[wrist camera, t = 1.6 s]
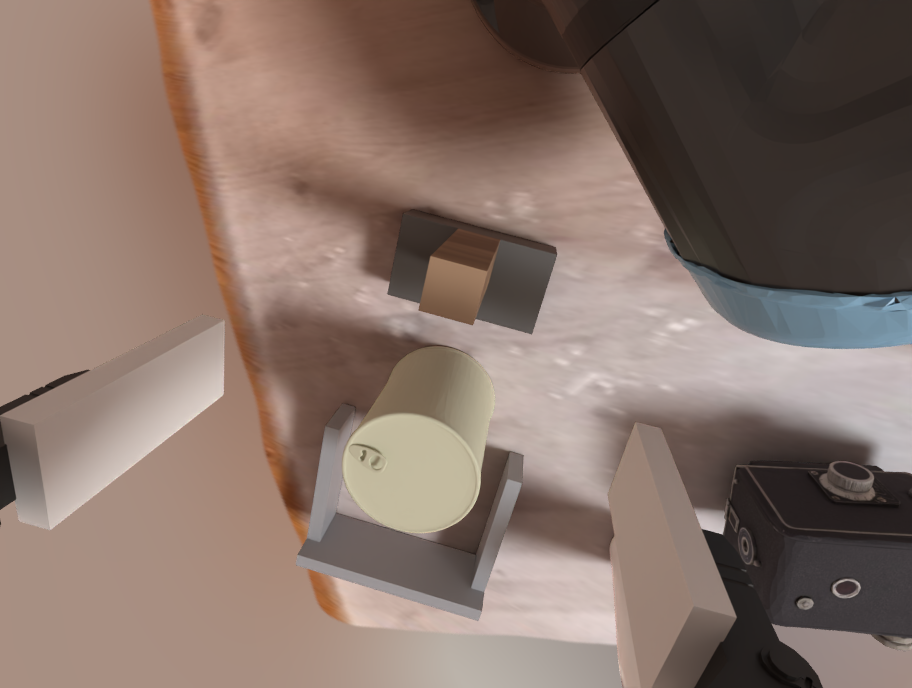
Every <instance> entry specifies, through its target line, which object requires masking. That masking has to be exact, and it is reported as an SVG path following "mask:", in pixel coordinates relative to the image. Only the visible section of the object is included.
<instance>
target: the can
mask: <svg viewBox="0 0 912 688" xmlns="http://www.w3.org/2000/svg"><path fill="white" fill-rule="evenodd" d="M494 406H495V394H494V388H493V385H492V382H491V380H490V378H489V376H488V374H487V373H486V371H485V370H484V368H483V367H482V366H481V365H480V364H479V363H478V362H477V361H476V360H475V359H473V358H472V357H471V356H469V355H467V354H465V353H463V352H462V351H459V350H456V349H453V348H449V347H443V346H431V347H424V348H420V349H418V350H415V351H413V352H411V353H409V354H408V355H406V356H405V357H403V358H402V359H401V360H400V361H399V362H398V363H397V365H396V366H395V367H394V369H393V370H392V372H391V374H390V377H389V380H388V382H387V384H386V385H385V387H384V388H383V390H382V392H381V393H380V395H379V396H378V398H377V399H376V401H375V402H374V404H373V406H372V407H371V409H370V410H369V412H368V413H367V415H366V416H365V418H364V419H363V421H362V422H361V424H360V425H359V427H358V428H357V429H356V430H355V431H354V432H353V433H352V435H351V436H350V438H349V439H348V441H347V443H346V445H345V448H344V451H343V456H342V474H343V479H344V482H345V485H346V487H347V490H348V492H349V494H350V495H351V497H352V498H353V500H354V501H355V502H356V504H357V505H358V506H359V507H360V508H361V509H362V510H363V511H364V512H365V513H366V514H368V515H369V516H370V517H371V518H373V519H374V520H376V521H378V522H379V523H381V524H383V525H385V526H387V527H390V528H393V529H396V530H399V531H404V532H409V533H430V532H436V531H440V530H443V529H446V528H448V527H450V526H452V525H454V524H456V523H457V522H459V521H460V520H462V519H463V518H464V517H465V516H466V515H467V514H468V513H469V511H470V510H471V509H472V507H473V506H474V504H475V502H476V500H477V497H478V494H479V490H480V483H481V469H482V463H483V457H484V450H485V444H486V438H487V432H488V427H489V422H490V419H491V417H492V414H493V411H494Z"/></svg>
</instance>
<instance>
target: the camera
mask: <svg viewBox="0 0 912 688" xmlns="http://www.w3.org/2000/svg"><path fill="white" fill-rule="evenodd" d="M724 518H725V519H726V521H725V527H724V532H723V536H724V537H725V538H726V539H727V540H728V542H729V543H730V544H731V545H732V546H733V547H734V548H735V549H736V550H737V552H738V553H739V555H740V557H741V559H742V562H743V564H744V566H745V568H746V570H747V571H746V574H749V577H750V579H751V581H752V583H753V585H754V586H753V589H756V592H757V594H758V596H759V598H760V600H761V602H762V604H763V607H764V609H765V611H766V613H767V615H768V617H769V619H770V622H771V623H772V624H775V625H780V626H785V627H801V628H814V629H824V630H837V631H848V632H856V633H865V634H871V635H872V636H873V637H874V638H875V639H876V640H878V641H879V642H881V643H882V644H883V645H885V646H887V647H890V648H893V649H897V650H901V651H909V650H910V649H911V648H912V474H910V473H907V472H884V471H883V470H882V469H881V468H879V467H877V466H865V465H857V464H855V463H851V462H847V461H836V462H832V463H831V464H821V463H799V462H782V461H750V462H749V464H748V465H736V467H735V471H734V476H733V482H732V488H731V494H730V499H729V498H727V501H726V506H725V516H724Z"/></svg>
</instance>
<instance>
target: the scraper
mask: <svg viewBox="0 0 912 688" xmlns="http://www.w3.org/2000/svg"><path fill="white" fill-rule="evenodd" d="M556 257H557V252H556V247H553V246H549V245H545V244H541V243H538V242H534V241H530V240H526V239H523V238H519V237H515V236H511V235H508V234H504V233H500V232H496V231H493V230H489V229H485V228H481V227H477V226H474V225H470V224H466V223H462V222H459V221H455V220H451V219H447V218H444V217H440V216H436V215H432V214H429V213H425V212H421V211H417V210H414V209H412V210H410V211H408V212H405V213H403V216H402V222H401V227H400V232H399V237H398V242H397V247H396V253H395V258H394V263H393V268H392V273H391V278H390V284H389V289H388V295H391V296H395V297H399V298H402V299H406V300H410V301H413V302H417V303H420V306H419V311H423V312H426V313H430V314H434V315H437V316H441V317H445V318H448V319H452V320H455V321H459V322H463V323H466V324H470V325H473V324H474V321H475V319H478V320H482V321H486V322H489V323H493V324H496V325H500V326H504V327H507V328H511V329H515V330H518V331H522V332H525V333H529V334H532V333H533V329H534V326H535V323H536V320H537V317H538V314H539V310H540V307H541V304H542V301H543V298H544V295H545V291H546V288H547V285H548V282H549V279H550V276H551V272H552V269H553V266H554V263H555V260H556Z"/></svg>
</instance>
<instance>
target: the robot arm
mask: <svg viewBox="0 0 912 688" xmlns="http://www.w3.org/2000/svg"><path fill="white" fill-rule="evenodd" d="M471 1H472V3H473V5H474V8H475V10H476V12H477V14H478V15H479V17H480V19H481V21H482V22H483V24H484V25H485V27H486V28H487V29H488V31H489V32H490V33H491V35H492V36H493V37H494V38H495V39H496V40H497V41H498V42H499V43H500V44H501V45H502V46H503V47H504V48H505V49H506V50H508V51H509V52H510V53H512V54H513V55H514V56H516V57H517V58H519V59H521V60H522V61H524V62H526V63H528V64H530V65H533V66H535V67H538V68H541V69H544V70H548V71H553V72H560V73H581V74H582V76H583V78H584V80H585V82H586V84H587V85H588V87H589V89H590V91H591V93H592V95H593V96H594V98H595V100H596V102H597V104H598V106H599V107H600V109H601V111H602V113H603V115H604V117H605V118H606V120H607V122H608V124H609V126H610V128H611V129H612V131H613V133H614V135H615V137H616V139H617V140H618V142H619V144H620V146H621V148H622V150H623V151H624V153H625V155H626V157H627V159H628V161H629V162H630V164H631V166H632V168H633V170H634V172H635V173H636V175H637V177H638V179H639V181H640V183H641V184H642V186H643V188H644V190H645V192H646V194H647V195H648V197H649V199H650V201H651V203H652V205H653V206H654V208H655V210H656V212H657V214H658V216H659V217H660V219H661V221H662V223H663V225H664V227H665V230H664V236H665V239H666V242H667V245H668V247H669V249H670V251H671V253H672V254H673V255H674V257H675V258H676V259H678V260H679V261H680V263H681V264H682V265H683V266H684V267H685V268H686V269H688V270H689V272H690V274H691V275H692V277H693V279H694V280H695V282H696V283H697V285H698V287H699V288H700V290H701V292H702V293H703V295H704V297H705V298H706V300H707V301H708V303H709V304H710V305H711V307H712V308H713V309H714V310H715V311H716V312H717V313H719V314H720V315H721V316H722V317H723V318H725V319H726V320H727V321H728V322H729V323H731V324H732V325H734V326H736V327H737V328H739V329H741V330H743V331H745V332H747V333H750V334H752V335H755V336H758V337H760V338H764V339H767V340H770V341H774V342H778V343H783V344H789V345H795V346H802V347H813V348H830V349H864V348H880V347H891V346H900V345H908V344H912V0H471ZM224 340H225V320H223V319H219V318H215V317H211V316H207V315H200V316H198V317H196V318H194V319H193V320H190V321H188V322H186V323H184V324H182V325H180V326H178V327H176V328H174V329H172V330H170V331H168V332H166V333H164V334H162V335H160V336H158V337H156V338H154V339H152V340H150V341H148V342H146V343H144V344H142V345H140V346H138V347H136V348H134V349H132V350H130V351H128V352H126V353H124V354H122V355H120V356H118V357H116V358H114V359H112V360H110V361H108V362H106V363H104V364H102V365H100V366H98V367H96V368H94V369H92V370H85V371H81V372H78V373H74V374H70V375H66V376H64V377H61V378H59V379H57V380H55V381H53V382H51V383H49V384H47V385H46V386H45V387H41V388H39V389H36V390H34V391H32V392H30V394H29V395H24V396H22V397H20V398H18V399H16V400H14V401H12V402H10V403H7V404H5V405H3V406H1V407H0V510H1V509H2V508H3V507H5V506H6V505H8V504H9V503H11V502H13V501H14V500H15V503H16V509H17V514H18V519H19V521H20V522H24V523H27V524H30V525H34V526H37V527H41V528H44V529H48V530H51V529H52V528H54V527H55V526H56V525H57V524H59V523H60V522H61V521H63V520H64V519H65V518H66V517H68V516H69V515H70V514H71V513H73V512H74V511H75V510H77V509H78V508H79V507H80V506H82V505H83V504H84V503H86V502H87V501H88V500H89V499H91V498H92V497H93V496H95V495H96V494H97V493H98V492H100V491H101V490H102V489H104V488H105V487H106V486H107V485H109V484H110V483H111V482H113V481H114V480H115V479H116V478H118V477H119V476H120V475H122V474H123V473H124V472H125V471H127V470H128V469H129V468H131V467H132V466H133V465H134V464H136V463H137V462H138V461H139V460H141V459H142V458H143V457H144V456H146V455H147V454H148V453H150V452H151V451H152V450H153V449H155V448H156V447H157V446H159V445H160V444H161V443H163V442H164V441H165V440H166V439H168V438H169V437H170V436H172V435H173V434H174V433H175V432H177V431H178V430H179V429H180V428H182V427H183V426H184V425H186V424H187V423H188V422H189V421H191V420H192V419H193V418H195V417H196V416H197V415H198V414H199V413H201V412H202V411H203V410H205V409H206V408H207V407H209V406H210V405H211V404H212V403H214V402H215V401H216V400H218V399H219V398H220V397H221V396H223V395H224ZM608 500H609V506H610V512H611V518H612V523H613V529H614V535H615V541H616V547H617V552H618V558H619V564H620V570H621V576H622V581H623V587H624V593H625V599H626V605H627V610H628V616H629V622H630V628H631V634H632V639H633V645H634V651H635V657H636V663H637V668H638V674H639V680H640V686H641V688H823V687H822V685H821V683H820V680H819V677H818V675H817V674H816V673H815V671H814V670H813V669H812V667H811V666H810V665H809V663H808V662H807V661H806V660H805V659H804V658H802V657H801V656H800V655H799V654H798V653H797V652H796V651H795V650H793V649H792V648H790V647H789V646H787V645H785V644H784V643H782V642H780V641H779V639H778V637H777V634H776V632H775V631H774V628H773V626H772V624H771V622H770V619H769V617H768V615H767V613H766V611H765V609H764V607H763V604H762V602H761V600H760V598H759V596H758V594H757V592H756V589H753V586H754V585H753V583H752V581H751V579H750V577H749V574H746V571H747V570H746V568H745V566H744V564H743V562H742V559H741V557H740V555H739V553H738V552H737V550H736V549H735V548H734V547H733V546H732V545H731V544H730V543H729V542H728V540H727V539H726V538H725V537H724V536H723V535H722V534H719V533H715V532H711V531H707V530H703V529H701V527H700V524H699V522H698V519H697V517H696V514H695V512H694V509H693V507H692V504H691V502H690V499H689V497H688V494H687V492H686V489H685V487H684V484H683V482H682V479H681V477H680V474H679V472H678V469H677V467H676V464H675V462H674V459H673V457H672V454H671V452H670V449H669V447H668V444H667V442H666V439H665V437H664V434H663V432H662V429H661V428H658V427H654V426H650V425H646V424H642V423H638V422H635V424H634V427H633V430H632V432H631V435H630V437H629V440H628V443H627V445H626V448H625V450H624V453H623V456H622V458H621V461H620V464H619V466H618V469H617V471H616V474H615V477H614V479H613V482H612V484H611V487H610V490H609V492H608ZM0 525H1V522H0Z"/></svg>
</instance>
